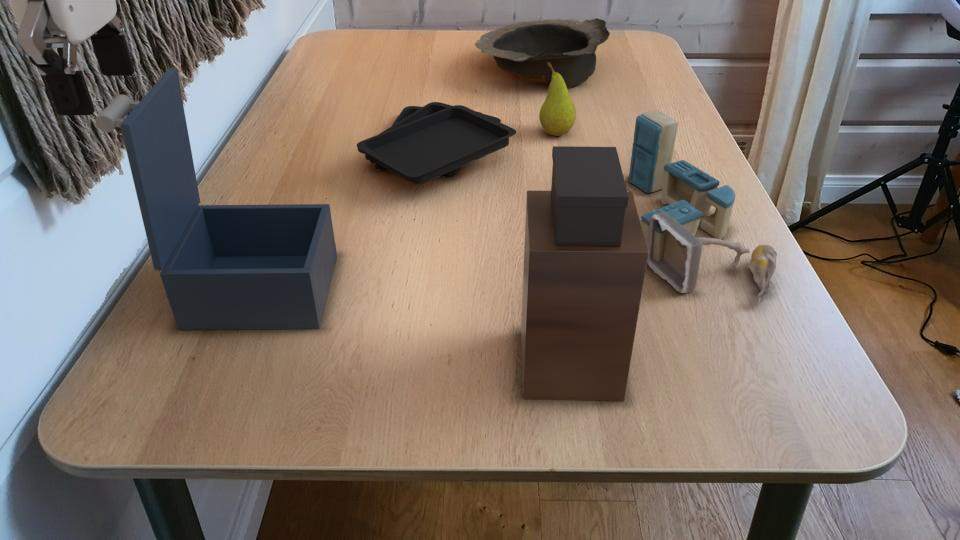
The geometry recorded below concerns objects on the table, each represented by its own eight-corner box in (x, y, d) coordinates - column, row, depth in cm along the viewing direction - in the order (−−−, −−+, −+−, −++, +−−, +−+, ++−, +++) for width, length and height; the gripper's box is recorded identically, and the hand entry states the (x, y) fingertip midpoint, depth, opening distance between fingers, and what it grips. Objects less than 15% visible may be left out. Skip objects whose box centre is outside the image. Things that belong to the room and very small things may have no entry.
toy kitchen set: (567, 201, 103) (572, 131, 96) (646, 175, 108) (656, 107, 102) (654, 267, 90) (666, 192, 84) (738, 233, 96) (756, 161, 90)
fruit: (581, 137, 118) (587, 65, 111) (550, 145, 116) (554, 72, 109) (561, 123, 122) (566, 53, 115) (531, 131, 120) (534, 59, 113)
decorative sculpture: (769, 258, 91) (784, 208, 87) (797, 308, 84) (815, 257, 79) (640, 258, 91) (649, 209, 87) (656, 309, 83) (667, 258, 79)
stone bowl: (622, 95, 131) (624, 44, 125) (482, 110, 130) (478, 59, 125) (595, 44, 150) (596, -2, 144) (474, 57, 150) (470, 11, 144)
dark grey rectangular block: (622, 247, 62) (629, 196, 59) (554, 246, 62) (558, 195, 59) (610, 194, 69) (616, 146, 66) (549, 193, 69) (552, 146, 66)
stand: (624, 401, 72) (648, 252, 62) (522, 399, 73) (529, 250, 62) (612, 333, 80) (632, 191, 70) (521, 332, 81) (526, 190, 70)
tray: (378, 115, 125) (375, 86, 122) (515, 116, 124) (515, 87, 121) (346, 209, 101) (342, 176, 98) (515, 211, 100) (516, 178, 97)
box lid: (176, 67, 77) (126, 64, 77) (128, 124, 66) (69, 121, 66) (200, 201, 87) (155, 199, 87) (162, 270, 76) (110, 268, 76)
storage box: (337, 256, 92) (329, 203, 87) (319, 328, 81) (309, 272, 77) (212, 258, 92) (198, 205, 87) (178, 330, 81) (159, 274, 76)
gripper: (39, -118, 68) (97, 62, 78) (-72, -82, 54) (15, 132, 64) (120, -119, 68) (167, 61, 78) (30, -83, 54) (101, 131, 64)
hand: (99, 93), depth 71 cm, fingers open, 9 cm apart
